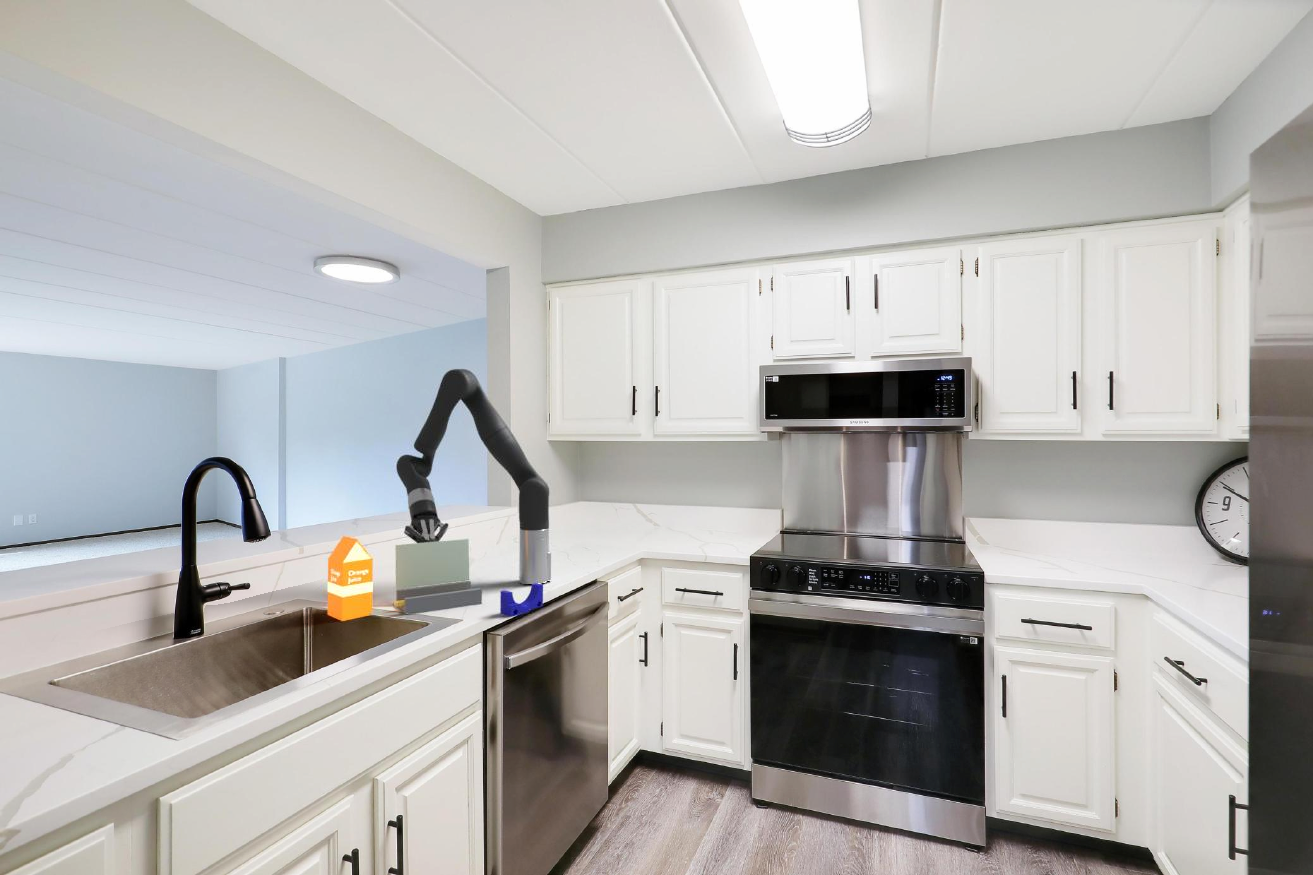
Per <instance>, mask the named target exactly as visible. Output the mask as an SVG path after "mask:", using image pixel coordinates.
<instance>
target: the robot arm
mask: <svg viewBox="0 0 1313 875" xmlns="http://www.w3.org/2000/svg"><path fill="white" fill-rule="evenodd" d="M460 401H462V403H463V404H464V405H465V407H466V408H467V409H468V411H469V412H470V414H471V416H472V418H473V422H474V424H475V428H476V431H477V433H478V436H479V438H480V440H481V441H482V443H483V444H484V446H485V447H486V449H487V450H488V452H489V453H490V454H491V456H492V457H493V458H494V459H495V461H496V462H497V463H498V464H500V466H501V467H502V468H503V469H504V470H505V471H506V472H507V473H508V475H509V476H510V477H511V479H512V480H513V482H514V484H515V485H516V487H517V489H518V491H519V494H518V521H519V557H518V558H519V560H518V561H519V563H518V566H519V573H518V574H519V576H518V578H519V580H518V581H519V584H520V583H522V584H521V585H524V584H534V583H537V584H538V583H543V582H545V581H548V580H551V581H552V552H551V551H550V549H549V548H550V546H549V544H550V542H549V541H550V539H549V538H550V535H549V534H550V530H549V529H550V516H549V515H550V514H549V507H550V506H549V503H550V502H549V501H550V500H549V498H550V487H549V485H548V483H547V482H546V481H545V480H544V479H543V478H542V477H541V476H540V474H539V473H538V472H537V471H536V470H535V468H534V467H533V466H532V465H531V463H530V461H529V460H528V458H527V456H526V455H525V452H524V451H523V449H522V447H521V446H520V443H519V442H518V440H517V439H516V437H515V435H514V434H513V432H512V431H511V429H510V428H509V426H508V425H507V424H506V422H505V420H503V418H502V417H501V415H500V414H499V412H498V410H496V408H495V407H494V406H493V404H492V403H491V402H490V400H489V398H488V396H487V395H486V392H485V391H484V389H483V387H482V386H481V383H480V381H479V380H478V378H477V376H476V375H475V373H473V372H472V371H470V370H468V369H465V368H454V369H450V370H448V371H447V372H445V373H444V375H443V376H442V378H441V381H440V384H439V387H438V391H437V394H436V397H435V400H434V402H433V404H432V406H431V407H432V408H431V409H430V412H429V414H428V416H427V419H426V420H425V422H424V424H423V426H422V428H421V430H420V431H419V433H418V435H417V437H416V439H415V440H414V443H413V448H414V450H416V451H417V452H418V453H420V454H421V455H422V456H415V455H411V454H403V455H401V456H400V457H399V458H398V459H397V462H396V467H395V468H396V473H397V476H398V477H399V479H400V481H401V483H403V486H404V487H405V489H406V495H407V504H408V506H407V507H408V510H409V515H410V521H411V522H410V525H406V526H405V527H404V531H403V533H404V534H405V535H406V536H407V537H409V538H410V539H411V540H412V541H414V542H415V543H426V542H438V541H441V539H442V538H443V537H444V535H445V534H446V532H447V531H448V529H449V523H446V522H445V523H443V522H442V521H441V520H440V518H439V516H438V510H437V507H436V502H435V498H434V495H433V493H432V488H431V485H430V481H429V480H428V477H429V476H430V475H431V474H432V469H433V465H434V464H433V463H434V459H435V455H436V452H437V450H438V448H439V446H440V444H441V442H442V441H443V439H444V437H445V435H446V432H447V428H448V425H449V420H450V417H451V415H452V413H453V411H454V409H455V407H456V405H457V404H459V402H460ZM438 528H439V531H438V532H437V530H438ZM436 532H437V533H436ZM435 533H436V535H435Z"/></svg>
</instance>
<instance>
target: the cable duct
mask: <svg viewBox="0 0 1313 875" xmlns="http://www.w3.org/2000/svg"><path fill="white" fill-rule="evenodd" d="M471 586H472V584H471V581H470V580H467V581H459V582H450V583H442V584H434V585H426V586H418V587H410V588H402V589H396V596H395V597H396V598H395V600H396V601H395V602H394V604H393V605H394V606H395V607H396V608H398V609H400V611H401V612H402V613H403V612H404V613H413V614H420V613H426V612H434V611H440V610H446V609H454V608H460V607H466V606H473V605H481V604H482V603H483V589H482V588H480V587H477V588H471ZM404 613H403V614H404Z"/></svg>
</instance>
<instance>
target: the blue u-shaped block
mask: <svg viewBox="0 0 1313 875" xmlns="http://www.w3.org/2000/svg"><path fill="white" fill-rule="evenodd" d="M530 586H531V587H530V592H529V594H528V595H527V597H526V598H525V600H523V601H522V602H518V603H517V602H516V600H515V599H514V596H513V591H508V590H507V589H506V590H502V591H500V595H499V596H500V599H499V600H500V608H499V609H500V614H501V615H504V616H507V617H510V618H513V617H516V616H520V615H523V614H528V613H530V612H531V610H534V609H537V608H541V607H544V584H537V583H534V584H532V585H530Z"/></svg>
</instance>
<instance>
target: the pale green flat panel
mask: <svg viewBox="0 0 1313 875" xmlns="http://www.w3.org/2000/svg"><path fill="white" fill-rule="evenodd" d="M469 544H470V543H469V538H464V539H462V538H461V539H455V540H454V539H453V540H452V539H450V540H440V541H438V542H426V543H416V542H415V543H405V544H404V543H403V544H402V543H401V544H396V545H395V589H396V590H398V589H406V588H414V587H422V586H430V585H439V584H447V583H455V582H463V581H470V556H469V555H470V552H469V550H470V549H469V548H470V547H469Z"/></svg>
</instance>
